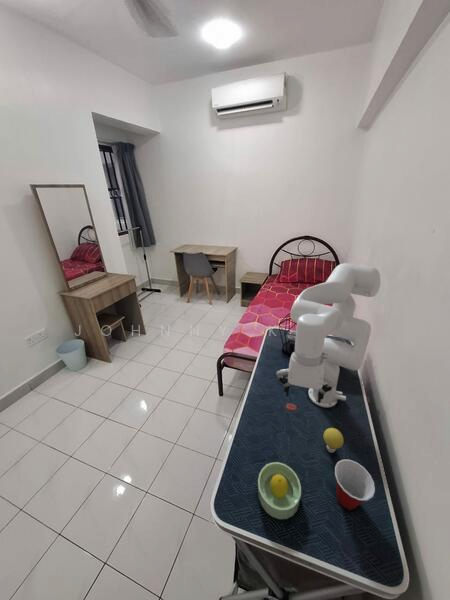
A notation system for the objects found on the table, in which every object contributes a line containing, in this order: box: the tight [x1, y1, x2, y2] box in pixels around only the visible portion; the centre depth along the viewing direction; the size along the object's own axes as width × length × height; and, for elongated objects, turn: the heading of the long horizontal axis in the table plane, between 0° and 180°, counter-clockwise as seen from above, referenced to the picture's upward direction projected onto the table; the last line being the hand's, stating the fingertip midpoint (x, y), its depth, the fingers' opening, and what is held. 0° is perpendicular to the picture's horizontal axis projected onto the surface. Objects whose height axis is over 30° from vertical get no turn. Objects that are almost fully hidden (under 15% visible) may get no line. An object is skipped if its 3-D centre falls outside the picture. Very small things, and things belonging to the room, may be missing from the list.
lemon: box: [270, 474, 288, 498], centre depth 76 cm, size 6×6×8 cm
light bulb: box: [322, 427, 345, 454], centre depth 87 cm, size 7×7×10 cm
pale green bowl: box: [257, 461, 302, 520], centre depth 76 cm, size 13×13×6 cm
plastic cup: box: [334, 459, 376, 510], centre depth 73 cm, size 11×11×12 cm
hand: (302, 396), depth 77 cm, fingers open, 9 cm apart
